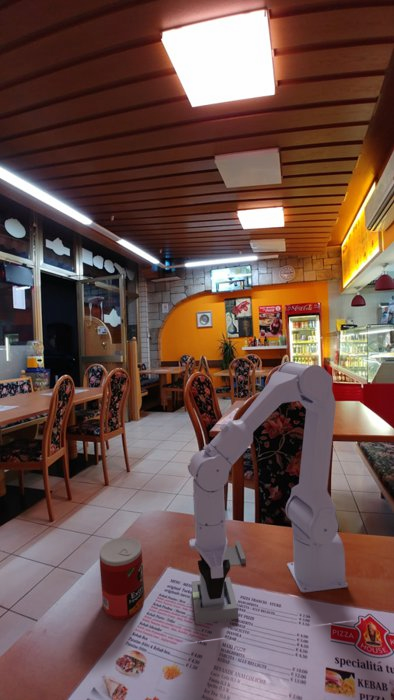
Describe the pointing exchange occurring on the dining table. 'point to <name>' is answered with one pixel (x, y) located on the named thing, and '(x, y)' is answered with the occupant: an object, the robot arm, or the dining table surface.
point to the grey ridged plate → (235, 554)
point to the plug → (205, 597)
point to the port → (215, 611)
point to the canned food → (122, 577)
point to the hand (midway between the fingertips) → (213, 587)
